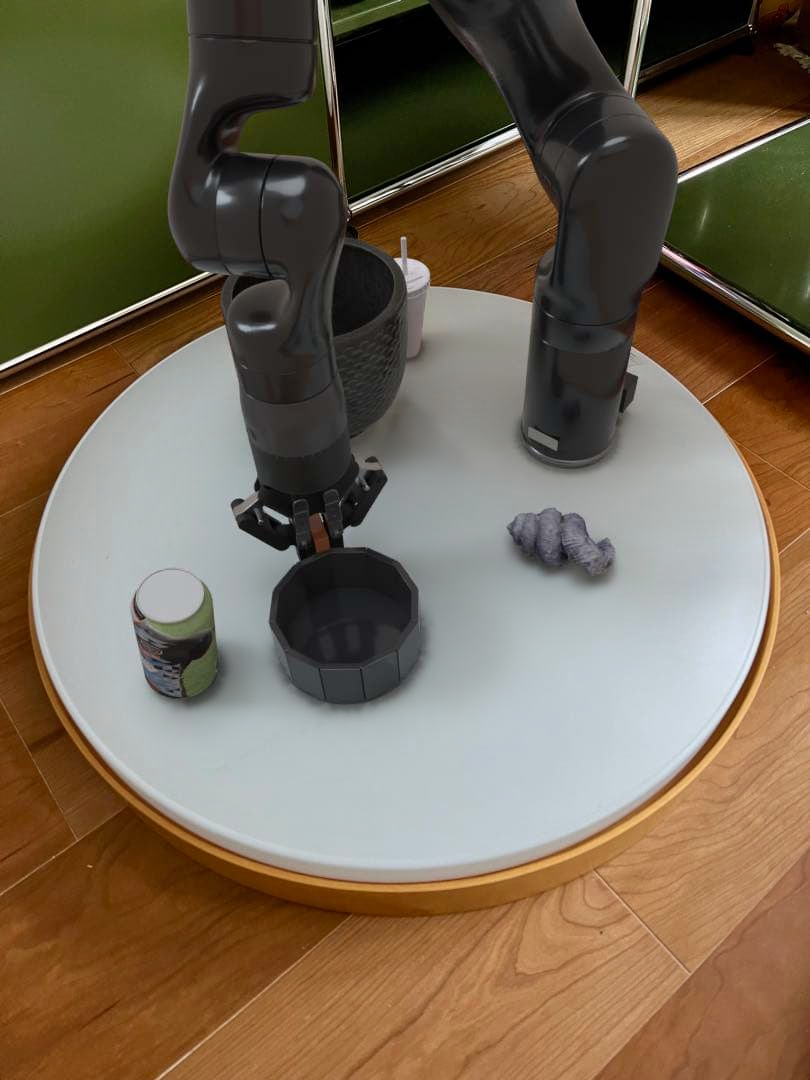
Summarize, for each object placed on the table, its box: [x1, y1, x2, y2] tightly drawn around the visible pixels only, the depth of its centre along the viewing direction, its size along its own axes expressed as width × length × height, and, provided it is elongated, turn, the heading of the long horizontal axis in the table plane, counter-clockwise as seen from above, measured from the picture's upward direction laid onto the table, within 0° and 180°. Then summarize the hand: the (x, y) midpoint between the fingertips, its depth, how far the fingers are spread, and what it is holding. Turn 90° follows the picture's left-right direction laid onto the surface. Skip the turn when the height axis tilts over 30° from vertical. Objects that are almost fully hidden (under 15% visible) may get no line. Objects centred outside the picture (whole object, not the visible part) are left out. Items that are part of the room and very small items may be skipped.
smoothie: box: [393, 236, 431, 360], centre depth 95 cm, size 6×6×14 cm
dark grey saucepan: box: [268, 513, 421, 705], centre depth 75 cm, size 16×12×7 cm
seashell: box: [505, 506, 616, 577], centre depth 80 cm, size 5×5×10 cm
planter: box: [220, 236, 408, 440], centre depth 88 cm, size 17×17×16 cm
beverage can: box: [130, 567, 219, 700], centre depth 71 cm, size 6×7×12 cm
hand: (321, 559), depth 80 cm, fingers closed
